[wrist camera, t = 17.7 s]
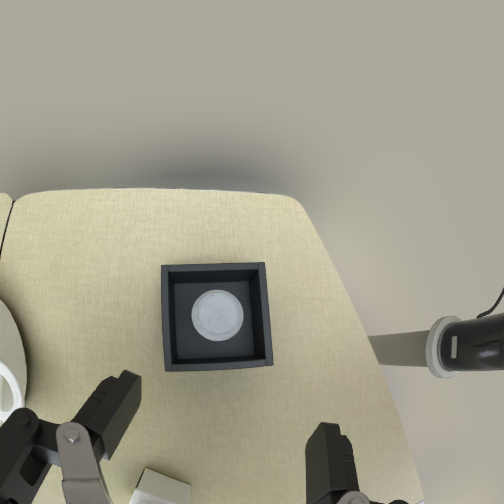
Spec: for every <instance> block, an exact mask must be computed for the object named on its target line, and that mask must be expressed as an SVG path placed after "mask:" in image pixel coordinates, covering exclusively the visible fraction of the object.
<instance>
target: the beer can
mask: <svg viewBox="0 0 504 504" xmlns="http://www.w3.org/2000/svg"><path fill="white" fill-rule="evenodd" d="M192 321H193V324H194V327H195V328H196V330H197V331H198V332H199V333H200V334H201V335H202V336H204V337H205V338H207V339H210V340H213V341H222V340H227V339H229V338H231V337H233V336H234V335H235V334H236V333H237V332H238V331H239V329H240V328H241V326H242V323H243V309H242V306H241V304H240V302H239V301H238V299H237V298H236V297H235V296H234V295H232V294H230V293H229V292H227V291H223V290H211V291H208V292H206V293H204V294H202V295H201V296H200V297H199V298H198V299H197V300H196V302H195V303H194V306H193V309H192Z"/></svg>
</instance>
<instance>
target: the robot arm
mask: <svg viewBox="0 0 504 504" xmlns="http://www.w3.org/2000/svg"><path fill="white" fill-rule="evenodd" d="M503 295H504V288H503V291H502V293H501V295H500V296H499V298H498V300H497V302H496V303H495V304H494V306H493V307H492V308H491V309H490V310H488V311H486V312H483V313H481V314H479V315H478V316H477V318H476V319H471V320H466V321H460V322H451V323H449V324H447V325H446V326H445V327H444V328H443V330H442V331H441V334H440V336H439V339H438V345H437V356H438V361H439V364H440V366H441V367H442V369H444V370H445V371H448V372H453V371H491V370H504V313H500V314H496V315H491V316H487V317H483V316H486V315H488V314H490V313H491V312H492V311H493V310H494V309H495V308H496V307H497V305H498V304H499V302H500V300H501V299H502V297H503ZM481 317H482V318H481ZM140 402H141V376H139V375H137V374H134V373H132V372H130V371H127V370H124V371H123V372H122V373H121V375H120V376H119V378H118V379H117V378H115V377H113V376H110V377H108V378H106V379H105V380H103V381H101V383H100V384H99V385H98V387H97V388H96V390H95V391H94V392H93V393H92V394H91V397H89V398H88V400H87V401H86V402H85V404H84V405H83V406H82V408H81V409H80V410H79V412H78V413H77V414H76V416H75V417H74V418H73V419H72V420H71V421H70V422H66V423H63V424H54V423H51V422H47V421H44V420H41V419H38V417H37V415H36V414H35V413H34V412H33V411H32V410H30V409H28V408H18V409H16V410H14V411H13V412H12V413H11V415H10V416H9V417H8V418H7V420H6V421H5V422H4V424H3V425H2V426H1V428H0V504H31V503H32V501H33V499H34V497H35V496H36V494H37V492H38V490H39V488H40V486H41V484H42V482H43V480H44V479H45V477H46V475H47V473H48V471H49V469H50V468H51V466H52V464H53V465H57V466H60V467H61V469H62V474H63V480H62V489H63V493H64V497H65V501H66V504H113V503H112V500H111V498H110V495H109V492H108V489H107V486H106V483H105V480H104V477H103V474H102V470H101V467H100V461H101V459H102V457H103V458H105V459H107V460H109V461H110V459H111V457H112V455H113V453H114V451H115V450H116V448H117V446H118V444H119V442H120V440H121V439H122V437H123V435H124V433H125V431H126V430H127V428H128V426H129V424H130V422H131V421H132V419H133V417H134V415H135V413H136V412H137V410H138V408H139V406H140ZM305 458H306V504H383V503H378V502H373V501H370V500H369V499H368V497H367V496H366V495H365V494H363V493H361V492H360V490H359V486H358V479H357V473H356V467H355V463H354V455H353V449H352V444H351V442H350V441H349V439H348V438H347V436H346V435H341V433H340V427H339V425H338V424H335V423H326V422H321V423H320V424H319V426H318V427H317V428H316V430H315V431H314V433H313V434H312V435H311V437H310V438H309V440H308V441H307V444H306V449H305ZM389 504H408V503H407V502H405V501H403V500H394V501H392V502H391V503H389Z"/></svg>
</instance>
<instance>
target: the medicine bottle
mask: <svg viewBox="0 0 504 504" xmlns="http://www.w3.org/2000/svg"><path fill="white" fill-rule="evenodd" d="M190 501H191V485H189V484H186V483H183V482H180V481H178V480H175V479H172V478H170V477H167V476H164V475H162V474H159V473H157V472H155V471H152V470H150V469H148V468H144V470H143V472H142V474H141V477H140V479H139V481H138V483H137V486H136V488H135V490H134V493H133V495H132V498H131V500H130V503H129V504H190Z"/></svg>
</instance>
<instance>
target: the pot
mask: <svg viewBox="0 0 504 504" xmlns="http://www.w3.org/2000/svg"><path fill="white" fill-rule="evenodd" d="M26 386H27V363H26V356H25V350H24V346H23V342H22V338H21V336H20V333H19V330H18V327H17V325H16V323H15V321H14V319H13V317H12V315H11V313H10V311H9V310H8V308H7V307H6V305H5V304H4V303H3V302H2V301H1V300H0V424H3V423H4V422H5V421H6V420H7V418H8V417H9V416H10V415H11V413H12V412H13V411H14V410H16V409H18V408H24V407H25V402H24V397H25V393H26Z"/></svg>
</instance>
